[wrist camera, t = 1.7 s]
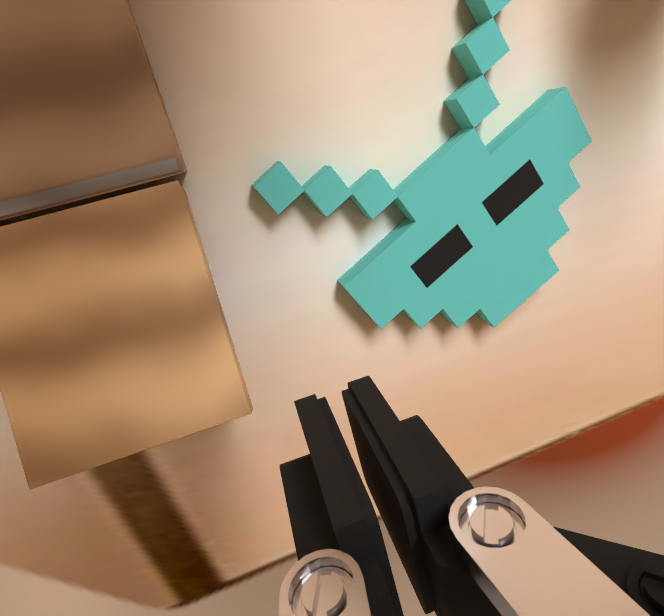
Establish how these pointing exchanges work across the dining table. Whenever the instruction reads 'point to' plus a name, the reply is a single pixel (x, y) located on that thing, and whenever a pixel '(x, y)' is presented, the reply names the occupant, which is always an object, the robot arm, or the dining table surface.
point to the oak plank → (111, 333)
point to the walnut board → (77, 105)
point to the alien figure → (461, 202)
